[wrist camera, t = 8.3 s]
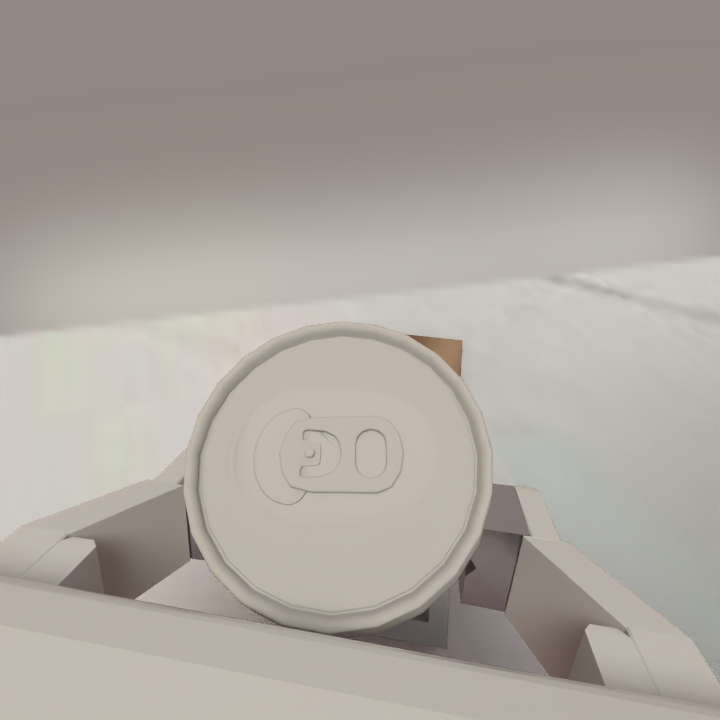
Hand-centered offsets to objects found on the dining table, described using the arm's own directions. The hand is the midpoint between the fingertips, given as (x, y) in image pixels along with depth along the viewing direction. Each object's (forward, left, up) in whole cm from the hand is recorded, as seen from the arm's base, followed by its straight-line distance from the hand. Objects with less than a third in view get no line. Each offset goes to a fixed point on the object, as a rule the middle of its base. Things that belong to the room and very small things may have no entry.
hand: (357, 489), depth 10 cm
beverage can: (0, 0, -8) cm, 8 cm away
